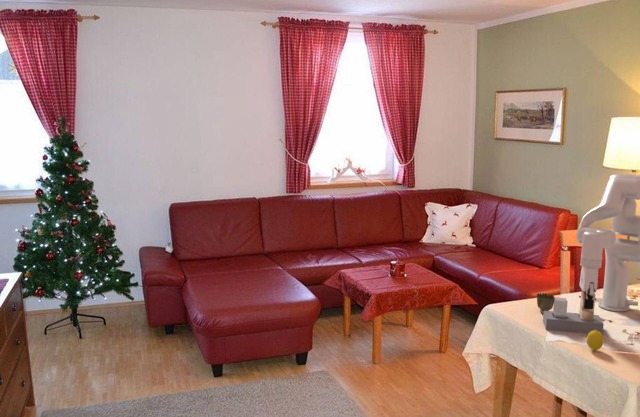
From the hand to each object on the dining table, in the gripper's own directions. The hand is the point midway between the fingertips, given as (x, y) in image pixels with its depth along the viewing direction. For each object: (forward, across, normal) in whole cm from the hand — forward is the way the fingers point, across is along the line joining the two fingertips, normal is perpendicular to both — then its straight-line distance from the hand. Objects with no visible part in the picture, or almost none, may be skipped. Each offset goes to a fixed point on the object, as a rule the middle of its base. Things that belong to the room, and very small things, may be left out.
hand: (587, 306), depth 234 cm
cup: (+10, -17, -14) cm, 24 cm away
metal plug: (+10, 0, -10) cm, 14 cm away
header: (+10, 0, -5) cm, 11 cm away
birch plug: (+6, 0, 0) cm, 6 cm away
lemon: (+10, +21, 0) cm, 23 cm away
